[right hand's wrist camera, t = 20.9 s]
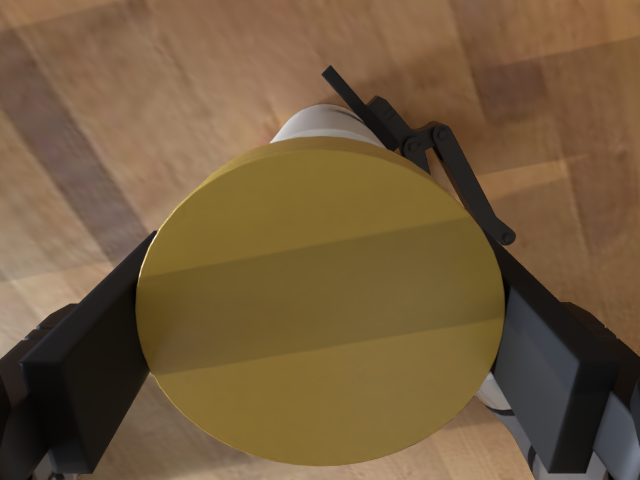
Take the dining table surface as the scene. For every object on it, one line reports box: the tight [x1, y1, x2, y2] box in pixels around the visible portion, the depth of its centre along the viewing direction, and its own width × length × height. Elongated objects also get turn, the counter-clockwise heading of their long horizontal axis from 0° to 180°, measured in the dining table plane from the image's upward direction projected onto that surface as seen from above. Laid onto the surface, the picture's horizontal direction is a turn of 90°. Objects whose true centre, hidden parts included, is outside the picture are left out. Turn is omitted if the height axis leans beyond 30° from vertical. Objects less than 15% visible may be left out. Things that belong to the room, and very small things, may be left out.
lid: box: [135, 136, 505, 466], centre depth 11 cm, size 9×9×2 cm
